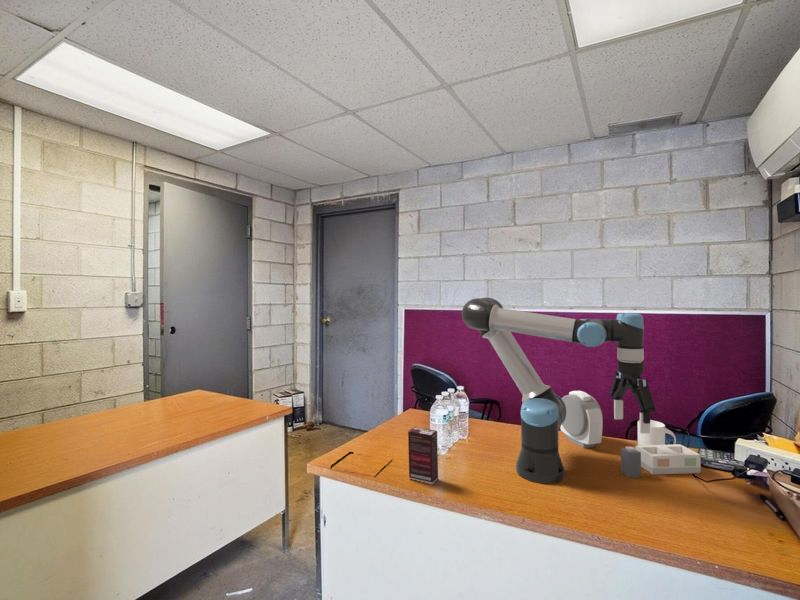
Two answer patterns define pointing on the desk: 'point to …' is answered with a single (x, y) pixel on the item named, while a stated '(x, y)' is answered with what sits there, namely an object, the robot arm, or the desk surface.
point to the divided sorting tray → (669, 459)
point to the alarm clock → (582, 419)
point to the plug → (630, 462)
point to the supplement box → (423, 455)
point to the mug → (654, 434)
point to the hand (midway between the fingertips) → (631, 425)
